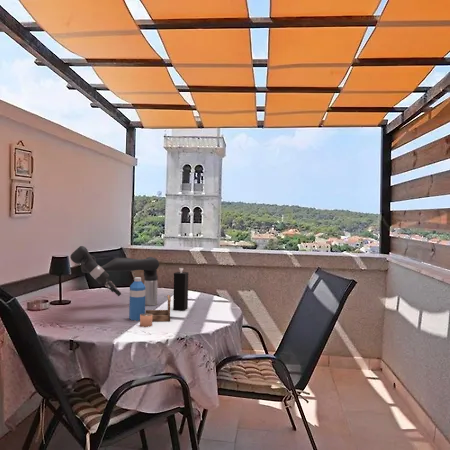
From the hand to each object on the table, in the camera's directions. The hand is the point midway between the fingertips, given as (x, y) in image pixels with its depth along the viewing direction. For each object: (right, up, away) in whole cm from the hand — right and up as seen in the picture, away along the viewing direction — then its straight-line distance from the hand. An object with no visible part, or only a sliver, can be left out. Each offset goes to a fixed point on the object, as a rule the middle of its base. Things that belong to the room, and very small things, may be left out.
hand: (120, 294), depth 256 cm
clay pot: (+18, -16, -12) cm, 26 cm away
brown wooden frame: (+21, -15, +4) cm, 27 cm away
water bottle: (+10, -15, +2) cm, 18 cm away
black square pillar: (+33, -15, +31) cm, 47 cm away
